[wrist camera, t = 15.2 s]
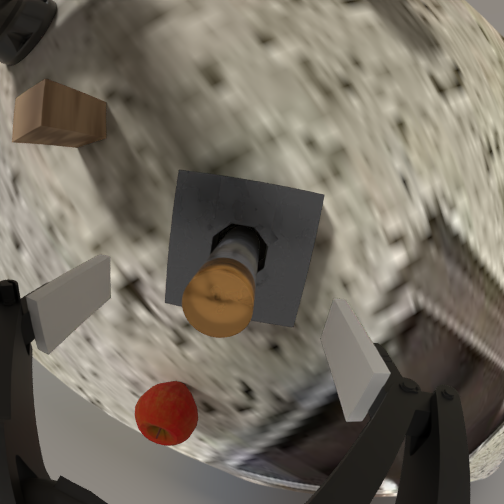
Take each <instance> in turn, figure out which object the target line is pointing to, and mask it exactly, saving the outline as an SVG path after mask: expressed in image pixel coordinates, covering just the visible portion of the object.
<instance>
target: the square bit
mask: <svg viewBox="0 0 504 504" xmlns="http://www.w3.org/2000/svg"><path fill="white" fill-rule="evenodd" d="M105 138H106V102H104V101H102V100H99V99H97V98H95V97H92V96H90V95H87V94H85V93H82V92H80V91H77V90H75V89H72V88H70V87H67V86H65V85H62V84H59V83H57V82H54V81H51V80H48V79H44V80H42V81H41V82H39V83H38V84H36V85H34V86H33V87H31V88H30V89H28V90H27V91H25V92H24V93H23V94H21V95H20V96H18V97H17V98H16V101H15V109H14V120H13V135H12V142H16V143H32V144H45V145H56V146H66V147H75V148H78V147H81V146H84V145H87V144H90V143H93V142H96V141H99V140H102V139H105Z"/></svg>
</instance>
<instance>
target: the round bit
mask: <svg viewBox="0 0 504 504" xmlns="http://www.w3.org/2000/svg"><path fill="white" fill-rule="evenodd" d="M259 247H260V242H259V238H258V236H257V234H256V233H255V232H254V231H253V230H252V229H250V228H248V227H245V226H237V227H234V228H232V229H231V230H230V231H229V232H228V233H227V234H226V235H225V236H224V238H223V239H222V240H221V242H220V243H219V244H218V246H217V247H216V248H215V249H214V251H213V252H212V253H211V255H210V256H209V257H208V259H207V260H206V261H205V263H204V264H203V265H202V267H201V268H200V269H199V271H198V272H197V273H196V275H195V276H194V277H193V279H192V280H191V281H190V283H189V284H188V285H187V287H186V288H185V290H184V293H183V297H182V308H183V312H184V314H185V317H186V318H187V320H188V321H189V323H190V324H191V325H192V326H193V327H194V328H195V329H196V330H198V331H199V332H201V333H203V334H205V335H208V336H211V337H217V338H224V337H230V336H233V335H236V334H238V333H239V332H241V331H242V330H243V329H245V328H246V326H247V325H248V324H249V322H250V320H251V318H252V315H253V307H254V297H255V287H256V277H257V267H258V257H259Z"/></svg>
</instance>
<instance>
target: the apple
mask: <svg viewBox="0 0 504 504" xmlns="http://www.w3.org/2000/svg"><path fill="white" fill-rule="evenodd" d="M135 419H136V422H137V425H138V428H139V430H140V431H141V433H142V434H143V435H144V436H145V437H146V438H148V439H149V440H150V441H152V442H155V443H157V444H161V445H166V446H171V445H177V444H180V443H182V442H184V441H186V440H187V439H188V438H189V437H190V435H191V434H192V432H193V431H194V429H195V428H196V426H197V421H198V412H197V406H196V404H195V401H194V399H193V396H192V394H191V392H190V391H189V390H188V388H187V387H186V385H185V384H183V383H181V382H178V381H172V382H166V383H160V384H157V385H155V386H153V387H152V388H150V389H149V390H148V391H147V392H145V393H144V394H143V395H142V396H141V397H140V399H139V400H138V402H137V404H136V406H135Z"/></svg>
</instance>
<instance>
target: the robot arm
mask: <svg viewBox="0 0 504 504" xmlns="http://www.w3.org/2000/svg"><path fill="white" fill-rule="evenodd" d="M55 11H56V3H55V2H54V1H52V0H0V62H1V63H3V64H7V65H14V64H16V63H18V62H19V61H21V60H22V59H23V58H24V57H25V56H26V55H27V54H28V53H29V52H30V51H31V50H32V49H33V48H34V46H35V45H36V44H37V43H38V41H39V40H40V39H41V37H42V36H43V34H44V33H45V31H46V30H47V28H48V27H49V25H50V23H51V21H52V19H53V17H54V14H55ZM110 298H111V284H110V256H107V255H103V254H99V255H97V256H95V257H94V258H92V259H90V260H88V261H86V262H84V263H82V264H81V265H79V266H77V267H75V268H73V269H72V270H70V271H68V272H66V273H65V274H63V275H61V276H59V277H58V278H56V279H54V280H52V281H51V282H48V283H46V284H44V285H42V286H41V287H39V288H37V289H36V290H34V291H32V292H31V293H29V294H27V295H26V296H24V297H23V298H21V299H20V293H19V287H18V282H17V281H15V280H3V281H0V504H108V503H106V502H105V501H103V500H102V499H100V498H99V497H98V496H96V495H95V494H93V493H92V492H91V491H89V490H87V489H85V488H83V487H81V486H79V485H77V484H75V483H73V482H71V481H70V480H68V479H66V478H64V477H62V476H60V477H59V479H58V481H55V480H51V479H50V477H49V475H48V473H47V471H46V469H45V466H44V463H43V459H42V455H41V449H40V444H39V438H38V432H37V426H36V418H35V409H34V397H33V378H32V345H31V342H32V341H33V340H34V339H35V340H36V344H37V348H38V349H39V350H41V351H42V352H44V353H46V354H48V355H49V354H50V353H51V352H52V351H53V350H54V349H55V348H56V347H57V346H58V345H59V344H61V343H62V342H63V341H64V340H65V339H66V338H67V337H68V336H69V335H70V334H71V333H72V332H73V331H74V330H75V329H77V328H78V327H79V326H80V325H81V324H82V323H83V322H84V321H85V320H86V319H88V318H89V317H90V316H91V315H92V314H93V313H94V312H95V311H96V310H98V309H99V308H100V307H101V306H102V305H103V304H104V303H106V302H107V301H108V300H109V299H110ZM320 339H321V342H322V345H323V348H324V351H325V354H326V357H327V361H328V364H329V367H330V370H331V373H332V376H333V380H334V383H335V386H336V389H337V393H338V396H339V399H340V402H341V406H342V409H343V413H344V416H345V419H346V422H353V421H363V419H364V418H365V416H366V414H367V413H368V412H369V415H370V417H371V419H370V421H369V422H368V423H367V425H366V426H365V428H364V429H363V431H362V432H361V433H360V436H359V437H358V439H357V440H356V441H355V443H354V444H353V446H352V447H351V449H350V450H349V451H348V453H347V454H346V455H345V457H344V458H343V459H342V461H341V462H340V463H339V465H338V466H337V467H336V468H335V470H334V471H333V472H332V473H331V475H330V476H329V477H328V478H327V479H326V481H325V482H324V483H323V484H322V485H321V486H320V488H319V489H318V490H317V491H316V492H315V493H314V494H313V495H312V496H311V498H310V499H309V500H308V501H307V502H306V503H305V504H370V502H371V501H372V499H373V497H374V496H375V494H376V492H377V491H378V489H379V487H380V486H381V484H382V482H383V480H384V478H385V477H386V475H387V473H388V471H389V469H390V467H391V465H392V463H393V461H394V459H395V457H396V455H397V453H398V451H399V448H400V446H401V444H402V442H403V439H404V437H405V435H406V441H405V450H404V458H403V465H402V472H401V478H400V483H399V488H398V493H397V498H396V503H395V504H470V467H469V454H468V444H467V436H466V429H465V422H464V416H463V411H462V405H461V400H460V396H459V394H458V392H457V391H456V390H455V389H454V388H453V387H451V386H447V385H439V386H438V387H437V388H436V389H435V391H434V393H428V392H422V391H421V389H420V387H419V385H418V384H417V383H416V382H415V381H413V380H411V379H408V378H404V377H402V376H401V374H400V372H399V371H398V369H397V367H396V366H395V364H394V363H393V362H392V359H391V358H390V357H389V355H388V353H387V351H386V350H385V349H384V348H383V347H382V346H381V345H379V344H378V343H373V342H372V341H371V339H370V337H369V336H368V334H367V332H366V331H365V329H364V328H363V326H362V324H361V323H360V321H359V319H358V318H357V316H356V315H355V313H354V312H353V310H352V308H351V307H350V305H349V304H348V302H347V301H346V300H345V299H338V298H333V302H332V305H331V308H330V311H329V314H328V318H327V321H326V324H325V327H324V330H323V333H322V336H321V338H320Z"/></svg>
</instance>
